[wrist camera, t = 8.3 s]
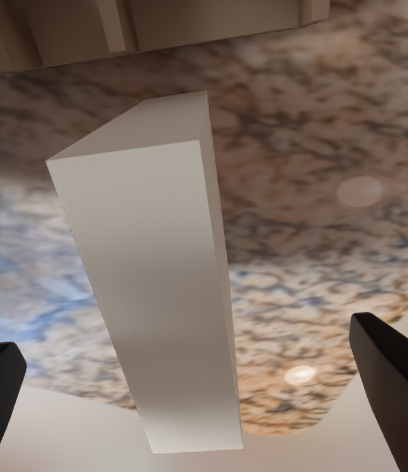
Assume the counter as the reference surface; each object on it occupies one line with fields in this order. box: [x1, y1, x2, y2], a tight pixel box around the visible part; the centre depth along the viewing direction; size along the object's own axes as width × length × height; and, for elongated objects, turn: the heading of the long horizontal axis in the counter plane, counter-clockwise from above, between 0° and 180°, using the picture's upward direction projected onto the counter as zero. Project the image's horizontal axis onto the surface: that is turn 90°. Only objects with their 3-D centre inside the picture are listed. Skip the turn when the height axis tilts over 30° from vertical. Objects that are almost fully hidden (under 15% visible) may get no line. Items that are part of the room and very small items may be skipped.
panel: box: [46, 90, 243, 454], centre depth 13 cm, size 10×3×11 cm, turn 8°
